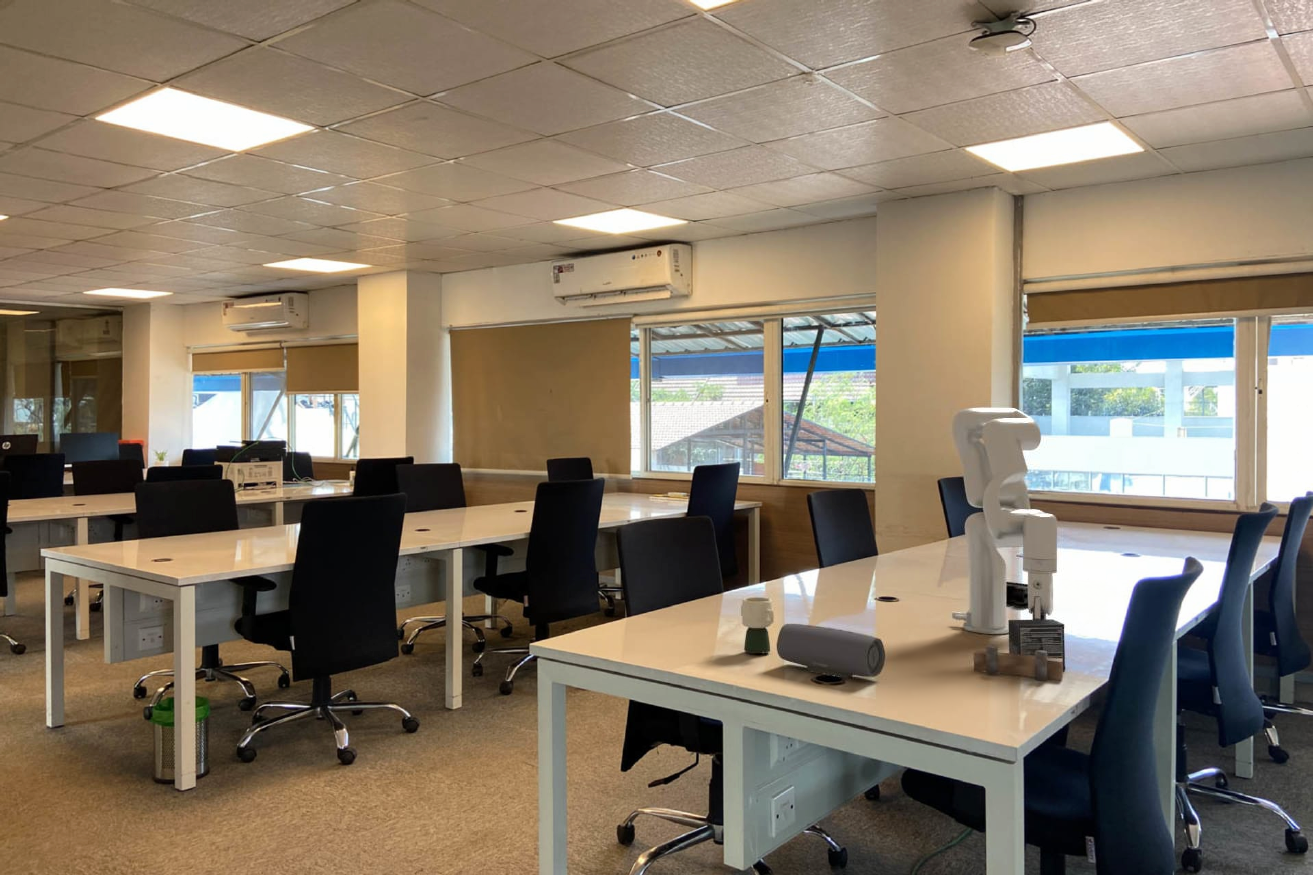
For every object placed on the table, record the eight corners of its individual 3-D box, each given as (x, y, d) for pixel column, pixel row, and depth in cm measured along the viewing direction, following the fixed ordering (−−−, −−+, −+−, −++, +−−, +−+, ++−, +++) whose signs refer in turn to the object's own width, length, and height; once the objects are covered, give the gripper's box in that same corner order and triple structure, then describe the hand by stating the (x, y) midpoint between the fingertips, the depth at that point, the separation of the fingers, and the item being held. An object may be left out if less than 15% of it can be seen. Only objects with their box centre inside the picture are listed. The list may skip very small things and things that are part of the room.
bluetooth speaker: (886, 678, 197) (886, 632, 197) (865, 687, 190) (865, 639, 190) (797, 660, 212) (797, 618, 212) (775, 668, 205) (775, 624, 205)
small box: (1053, 663, 208) (1053, 618, 208) (1066, 671, 202) (1066, 624, 202) (1007, 663, 208) (1007, 618, 208) (1018, 671, 202) (1018, 624, 202)
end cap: (1037, 605, 278) (1037, 583, 278) (1026, 608, 273) (1026, 586, 273) (1006, 601, 285) (1006, 579, 285) (995, 604, 281) (994, 582, 280)
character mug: (783, 655, 217) (783, 600, 217) (762, 659, 213) (762, 604, 213) (752, 646, 226) (752, 594, 226) (731, 650, 221) (730, 597, 221)
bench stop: (972, 672, 200) (972, 645, 200) (975, 667, 205) (975, 640, 205) (1061, 683, 192) (1061, 654, 192) (1062, 676, 197) (1062, 649, 197)
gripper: (1054, 570, 208) (1054, 650, 208) (1059, 561, 221) (1058, 636, 221) (1019, 568, 211) (1019, 646, 211) (1025, 559, 224) (1025, 633, 225)
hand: (1039, 641), depth 216 cm, fingers closed
